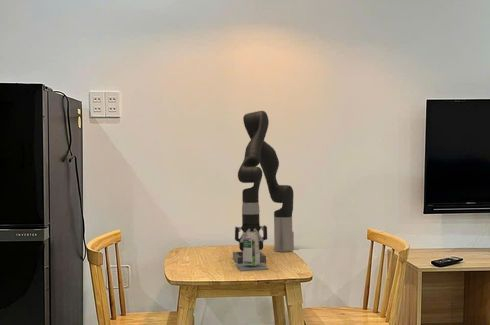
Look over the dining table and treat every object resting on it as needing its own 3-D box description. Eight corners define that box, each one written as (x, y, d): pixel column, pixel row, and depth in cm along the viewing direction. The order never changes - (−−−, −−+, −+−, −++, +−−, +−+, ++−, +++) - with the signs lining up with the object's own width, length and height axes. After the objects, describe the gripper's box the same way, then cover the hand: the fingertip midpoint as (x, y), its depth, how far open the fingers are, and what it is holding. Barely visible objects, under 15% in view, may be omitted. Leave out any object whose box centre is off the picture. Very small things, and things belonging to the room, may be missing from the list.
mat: (261, 263, 219) (261, 262, 219) (268, 269, 207) (268, 268, 207) (235, 265, 216) (235, 264, 216) (240, 271, 205) (240, 270, 205)
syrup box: (242, 264, 210) (241, 231, 210) (248, 262, 216) (248, 229, 215) (254, 266, 208) (253, 232, 208) (260, 263, 213) (259, 230, 213)
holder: (259, 256, 233) (259, 250, 233) (266, 262, 221) (266, 255, 221) (232, 258, 231) (232, 252, 231) (237, 264, 218) (237, 257, 218)
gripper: (264, 211, 217) (265, 247, 217) (232, 212, 214) (233, 249, 214) (268, 213, 209) (269, 251, 209) (236, 214, 206) (236, 252, 207)
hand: (251, 250), depth 212 cm, fingers closed on syrup box, 7 cm apart
